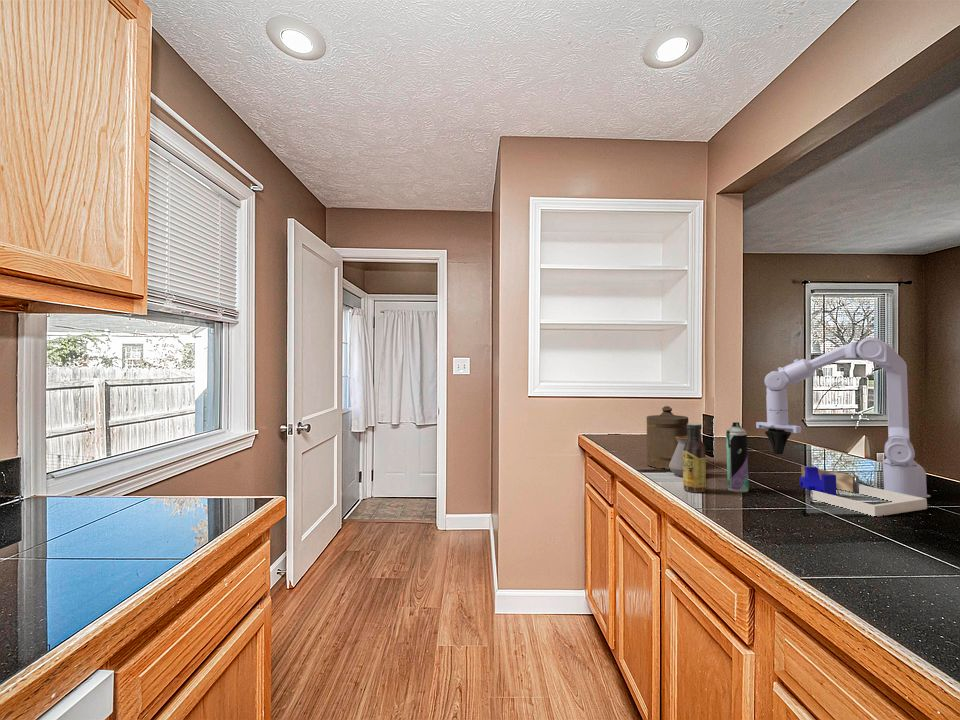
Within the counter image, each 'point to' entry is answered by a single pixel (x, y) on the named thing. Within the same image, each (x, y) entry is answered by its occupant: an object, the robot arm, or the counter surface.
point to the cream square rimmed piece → (896, 506)
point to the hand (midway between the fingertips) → (778, 453)
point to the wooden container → (664, 437)
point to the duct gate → (837, 479)
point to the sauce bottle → (694, 460)
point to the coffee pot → (678, 457)
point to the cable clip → (818, 481)
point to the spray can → (737, 458)
